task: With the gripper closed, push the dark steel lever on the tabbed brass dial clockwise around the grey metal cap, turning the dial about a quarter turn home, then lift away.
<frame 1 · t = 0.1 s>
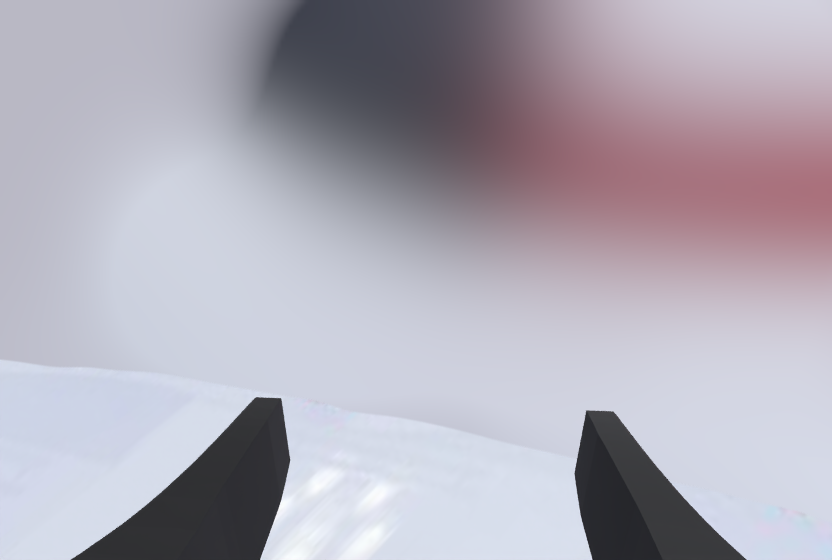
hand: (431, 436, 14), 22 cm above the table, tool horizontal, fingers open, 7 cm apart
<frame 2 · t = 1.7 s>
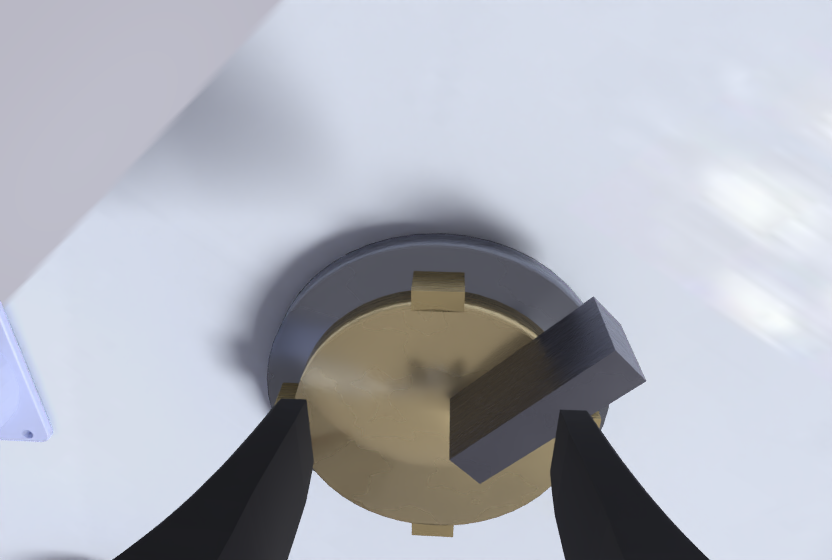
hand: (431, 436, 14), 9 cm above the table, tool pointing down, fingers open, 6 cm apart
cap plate: (436, 382, 25), on the table
tabbed brass dial: (434, 445, 22), point 4 cm above the table, hinge at 0.0°
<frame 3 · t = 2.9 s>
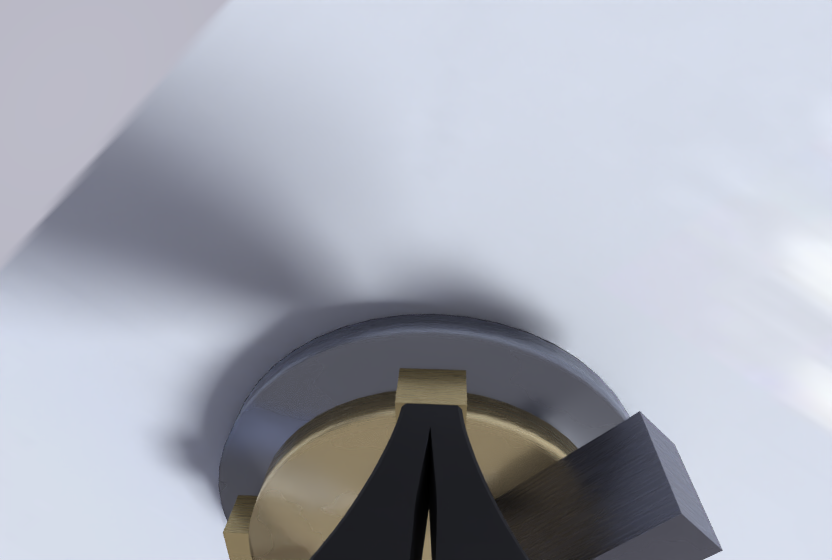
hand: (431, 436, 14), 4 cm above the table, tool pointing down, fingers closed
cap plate: (432, 485, 20), on the table
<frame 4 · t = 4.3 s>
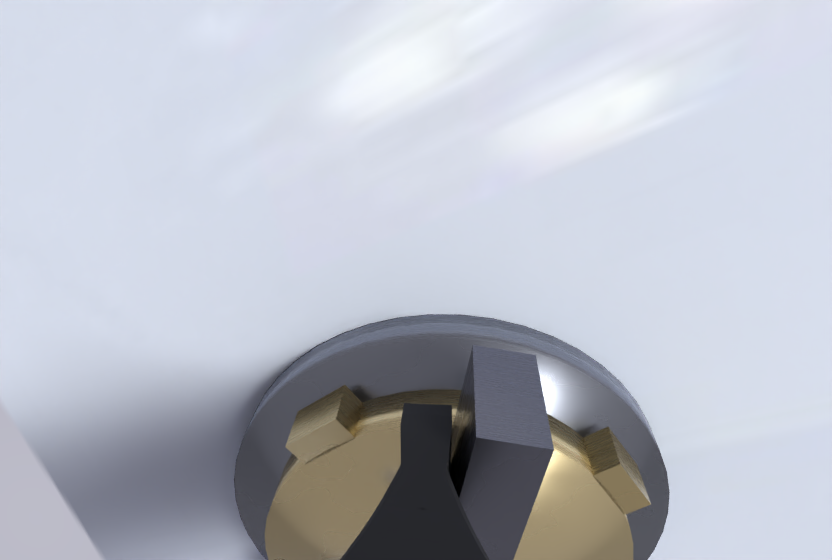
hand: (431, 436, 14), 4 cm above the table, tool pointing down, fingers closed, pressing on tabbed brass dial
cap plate: (446, 485, 20), on the table
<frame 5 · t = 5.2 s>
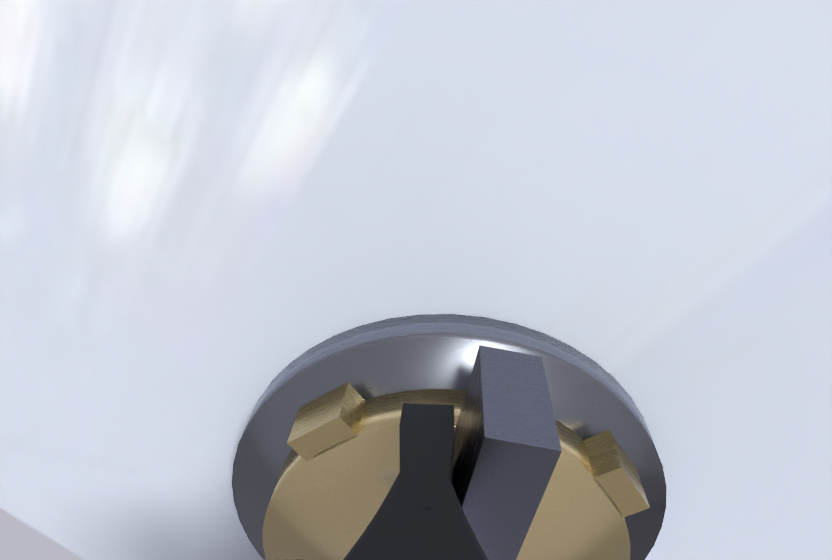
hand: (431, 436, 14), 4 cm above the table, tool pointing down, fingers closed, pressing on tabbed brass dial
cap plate: (444, 485, 20), on the table
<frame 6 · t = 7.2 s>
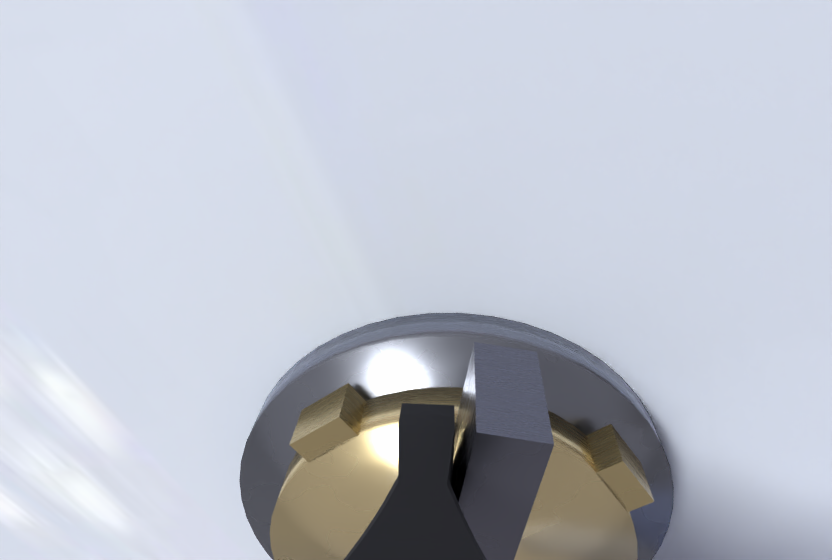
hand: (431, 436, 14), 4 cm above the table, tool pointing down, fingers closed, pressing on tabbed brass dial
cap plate: (451, 484, 20), on the table
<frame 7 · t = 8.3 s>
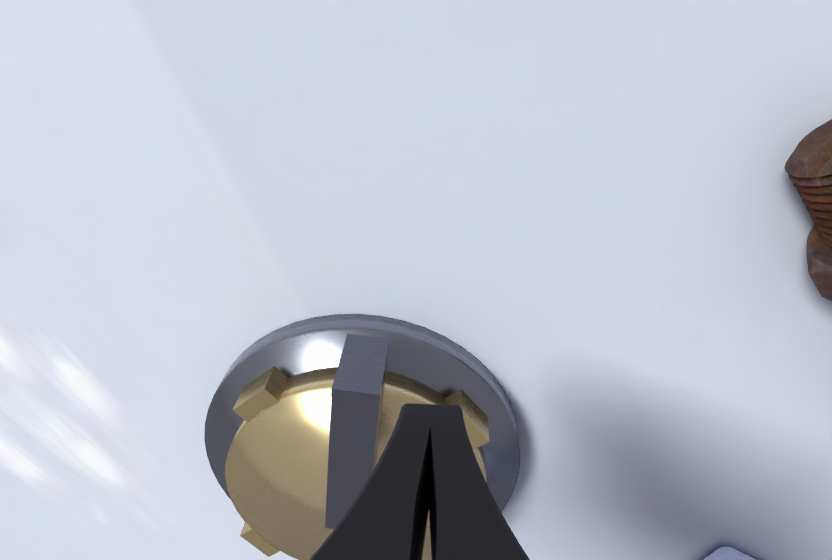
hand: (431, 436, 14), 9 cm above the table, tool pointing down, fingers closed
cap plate: (364, 441, 27), on the table
tabbed brass dial: (352, 507, 24), point 4 cm above the table, hinge at -111.1°
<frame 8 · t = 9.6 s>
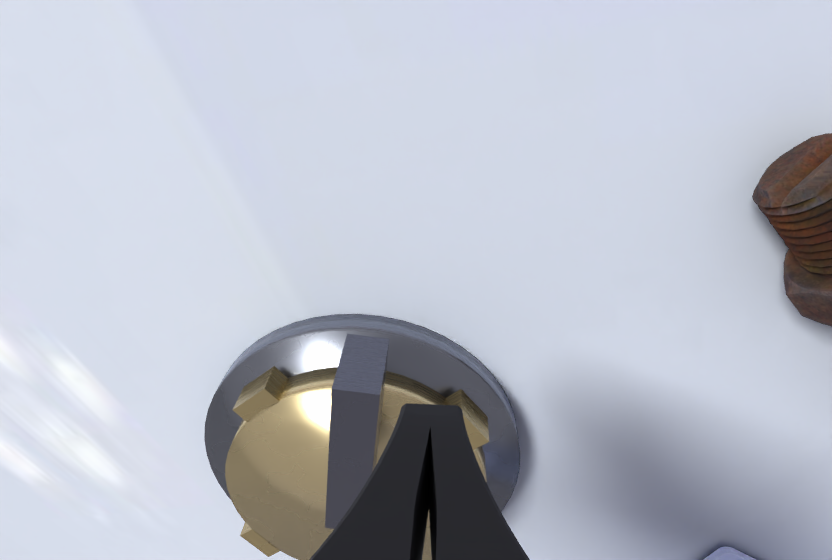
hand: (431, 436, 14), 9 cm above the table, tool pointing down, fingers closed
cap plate: (364, 441, 27), on the table
tabbed brass dial: (352, 507, 24), point 4 cm above the table, hinge at -111.1°
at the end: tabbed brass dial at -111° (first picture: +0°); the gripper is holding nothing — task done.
